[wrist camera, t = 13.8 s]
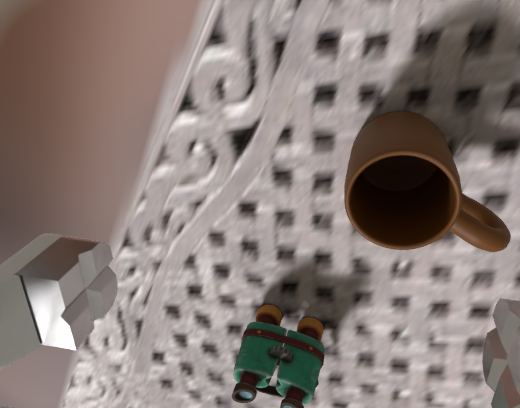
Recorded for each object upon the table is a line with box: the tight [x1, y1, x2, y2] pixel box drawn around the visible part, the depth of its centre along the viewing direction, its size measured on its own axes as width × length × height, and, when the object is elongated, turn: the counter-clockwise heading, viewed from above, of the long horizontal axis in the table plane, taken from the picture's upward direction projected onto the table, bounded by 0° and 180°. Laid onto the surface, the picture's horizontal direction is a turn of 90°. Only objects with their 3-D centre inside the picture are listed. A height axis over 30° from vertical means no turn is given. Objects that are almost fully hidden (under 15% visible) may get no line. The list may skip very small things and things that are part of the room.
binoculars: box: [232, 305, 325, 408], centre depth 45 cm, size 9×11×10 cm
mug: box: [345, 111, 511, 252], centre depth 33 cm, size 12×8×9 cm, turn 68°
